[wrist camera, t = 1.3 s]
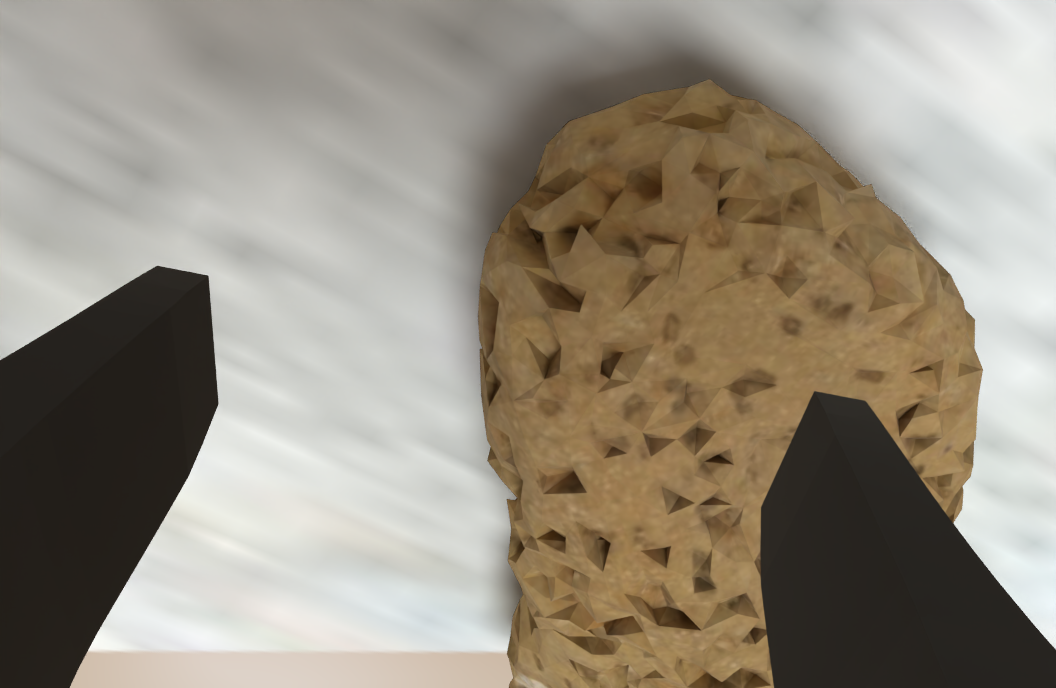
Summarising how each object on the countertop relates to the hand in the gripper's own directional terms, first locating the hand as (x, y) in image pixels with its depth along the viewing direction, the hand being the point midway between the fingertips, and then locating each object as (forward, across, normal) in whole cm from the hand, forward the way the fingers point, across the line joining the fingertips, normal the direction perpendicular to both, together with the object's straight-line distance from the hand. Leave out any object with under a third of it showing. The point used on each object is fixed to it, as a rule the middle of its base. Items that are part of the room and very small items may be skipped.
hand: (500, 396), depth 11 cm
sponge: (+11, -5, +10) cm, 15 cm away
